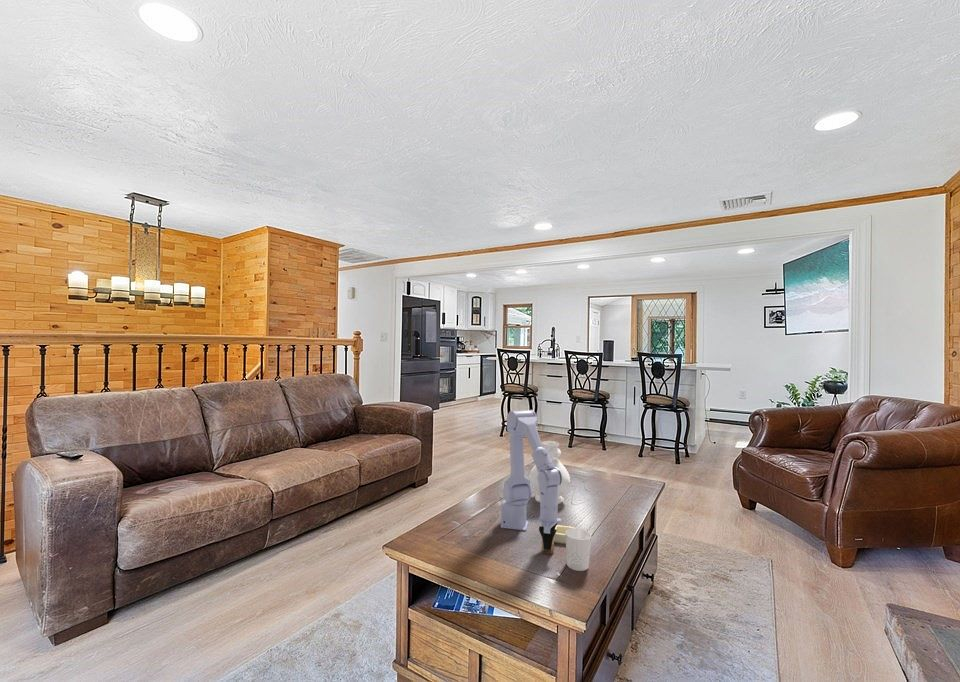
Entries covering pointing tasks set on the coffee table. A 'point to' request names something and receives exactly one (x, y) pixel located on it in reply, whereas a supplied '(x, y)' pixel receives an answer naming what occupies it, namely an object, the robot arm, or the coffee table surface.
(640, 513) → the coffee table surface
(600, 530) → the coffee table surface
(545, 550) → the brown cylinder
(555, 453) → the decorative vase
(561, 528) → the cream square tray
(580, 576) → the coffee table surface
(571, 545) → the white cup
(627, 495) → the coffee table surface
